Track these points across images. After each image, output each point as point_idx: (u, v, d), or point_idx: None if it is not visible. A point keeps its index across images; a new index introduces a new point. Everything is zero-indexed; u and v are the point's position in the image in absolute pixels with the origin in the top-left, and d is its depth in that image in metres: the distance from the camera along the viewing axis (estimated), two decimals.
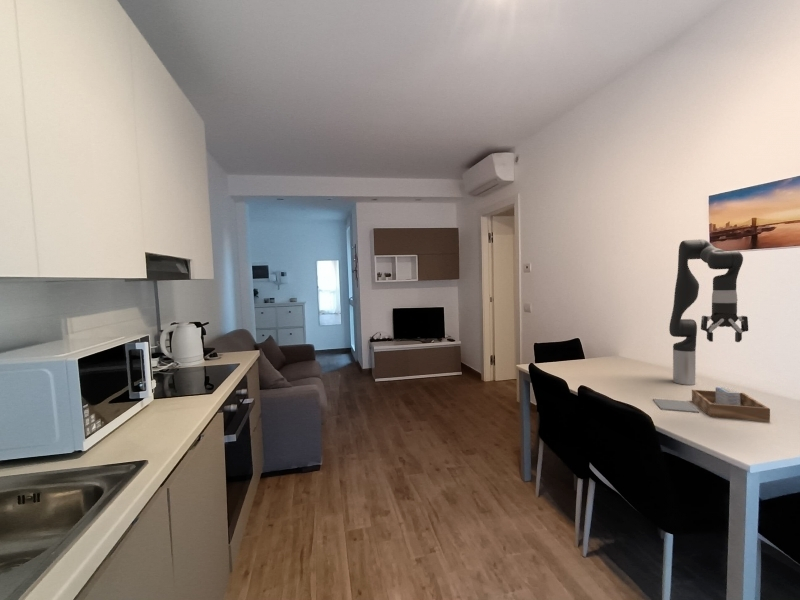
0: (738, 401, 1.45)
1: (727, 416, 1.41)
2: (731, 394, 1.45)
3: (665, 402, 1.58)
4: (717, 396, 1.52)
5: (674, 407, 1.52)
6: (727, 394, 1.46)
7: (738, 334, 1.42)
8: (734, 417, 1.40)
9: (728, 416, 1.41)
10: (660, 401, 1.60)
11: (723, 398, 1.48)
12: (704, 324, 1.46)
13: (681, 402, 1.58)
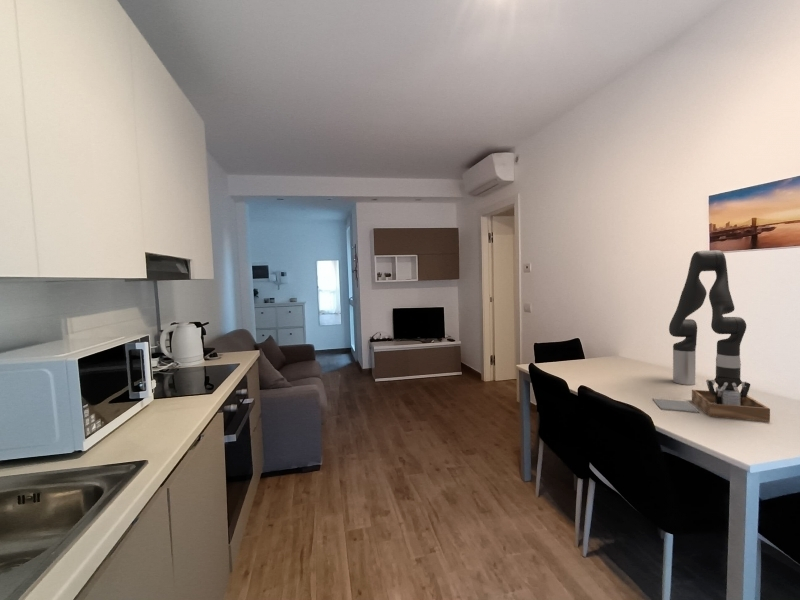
0: (738, 401, 1.45)
1: (727, 416, 1.41)
2: (731, 394, 1.45)
3: (665, 402, 1.58)
4: None
5: (674, 407, 1.52)
6: (727, 394, 1.46)
7: None
8: (734, 417, 1.40)
9: (728, 416, 1.41)
10: (660, 401, 1.60)
11: (723, 398, 1.48)
12: (711, 389, 1.50)
13: (681, 402, 1.58)
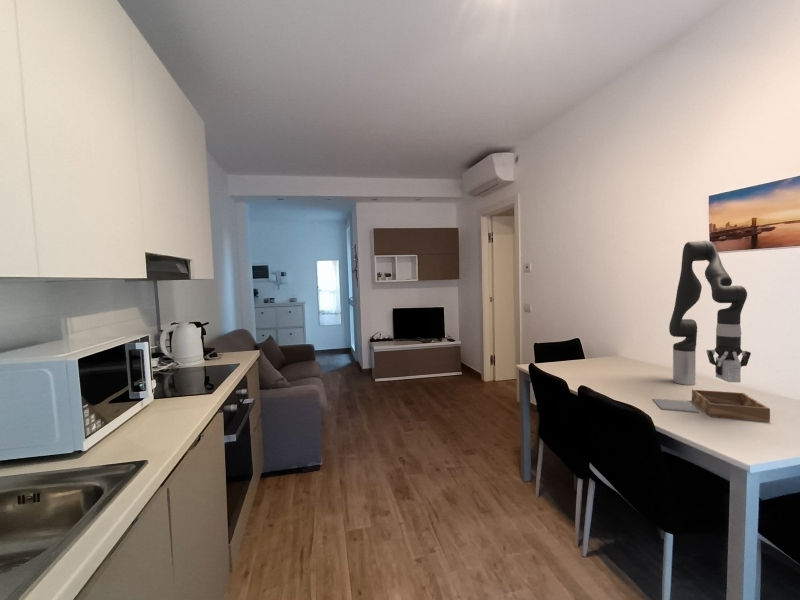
0: (738, 370, 1.44)
1: (727, 416, 1.41)
2: (731, 363, 1.44)
3: (665, 402, 1.58)
4: None
5: (674, 407, 1.52)
6: (727, 363, 1.45)
7: None
8: (734, 417, 1.40)
9: (728, 416, 1.41)
10: (660, 401, 1.60)
11: (723, 367, 1.47)
12: (711, 358, 1.49)
13: (681, 402, 1.58)
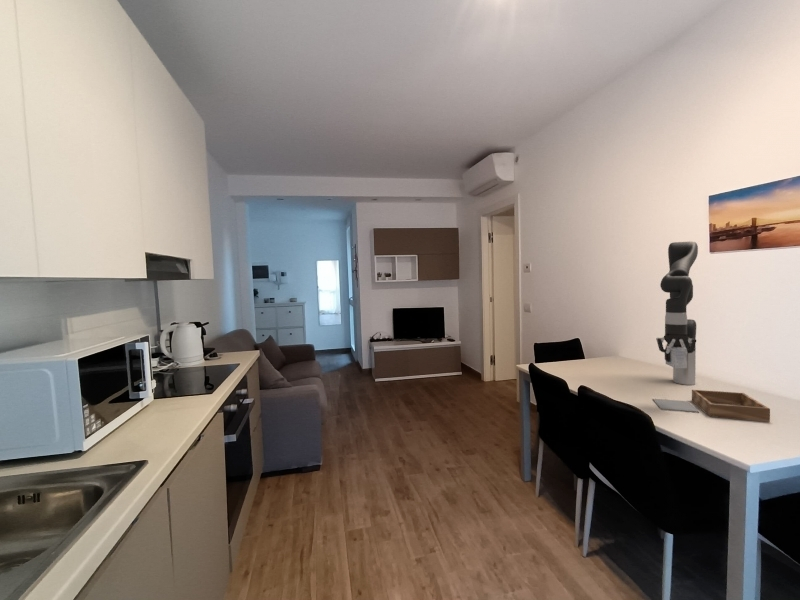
0: (684, 356, 1.50)
1: (727, 416, 1.41)
2: (678, 349, 1.51)
3: (665, 402, 1.58)
4: None
5: (674, 407, 1.52)
6: (674, 350, 1.51)
7: None
8: (734, 417, 1.40)
9: (728, 416, 1.41)
10: (660, 401, 1.60)
11: (671, 354, 1.54)
12: (660, 346, 1.55)
13: (681, 402, 1.58)
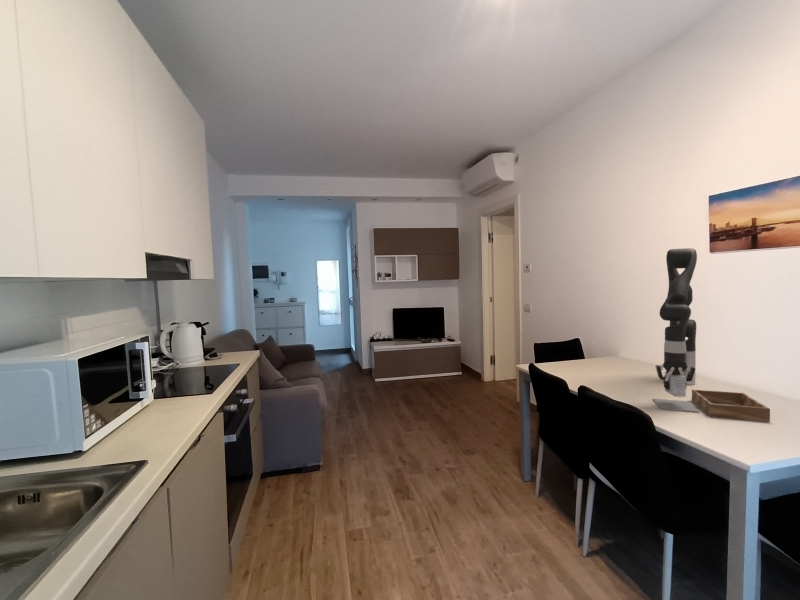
0: (683, 385, 1.51)
1: (727, 416, 1.41)
2: (677, 378, 1.51)
3: (665, 402, 1.58)
4: None
5: (674, 407, 1.52)
6: (673, 378, 1.52)
7: None
8: (734, 417, 1.40)
9: (728, 416, 1.41)
10: (660, 401, 1.60)
11: (670, 382, 1.54)
12: (659, 373, 1.56)
13: (681, 402, 1.58)
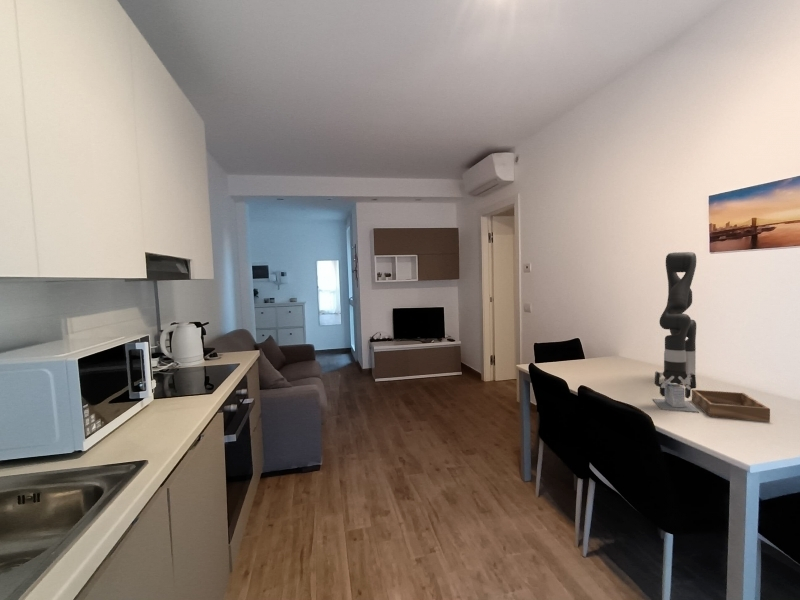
0: (682, 395, 1.51)
1: (727, 416, 1.41)
2: (676, 389, 1.52)
3: (665, 402, 1.58)
4: (665, 391, 1.59)
5: (674, 407, 1.52)
6: (672, 389, 1.53)
7: (687, 390, 1.53)
8: (734, 417, 1.40)
9: (728, 416, 1.41)
10: (660, 401, 1.60)
11: (669, 393, 1.55)
12: (657, 380, 1.57)
13: None
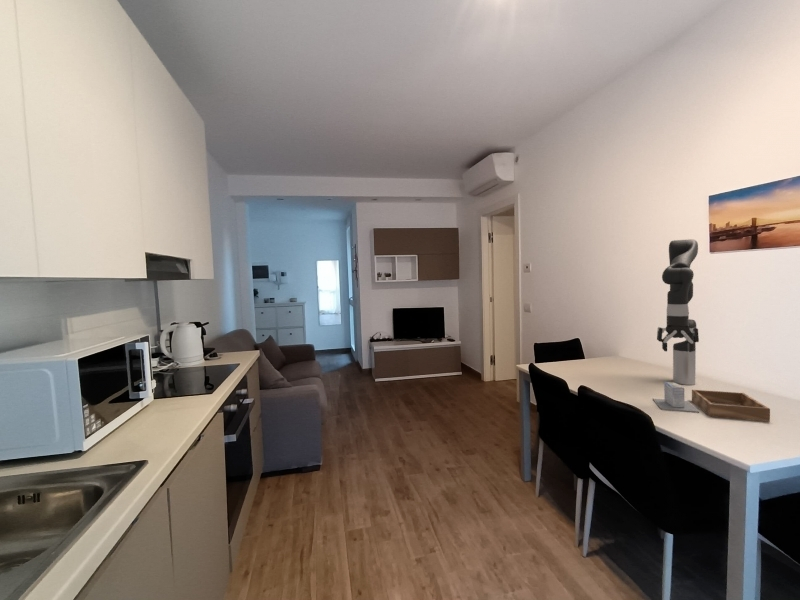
0: (682, 395, 1.51)
1: (727, 416, 1.41)
2: (676, 389, 1.52)
3: (665, 402, 1.58)
4: (665, 391, 1.59)
5: (674, 407, 1.52)
6: (672, 389, 1.53)
7: (690, 345, 1.53)
8: (734, 417, 1.40)
9: (728, 416, 1.41)
10: (660, 401, 1.60)
11: (669, 393, 1.55)
12: (659, 335, 1.57)
13: None
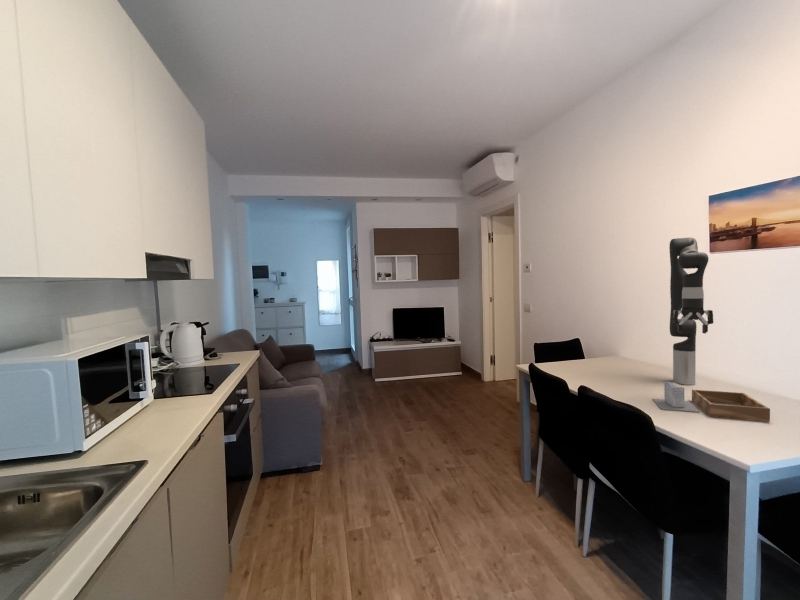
0: (682, 395, 1.51)
1: (727, 416, 1.41)
2: (676, 389, 1.52)
3: (665, 402, 1.58)
4: (665, 391, 1.59)
5: (674, 407, 1.52)
6: (672, 389, 1.53)
7: (704, 326, 1.60)
8: (734, 417, 1.40)
9: (728, 416, 1.41)
10: (660, 401, 1.60)
11: (669, 393, 1.55)
12: (675, 317, 1.64)
13: None
